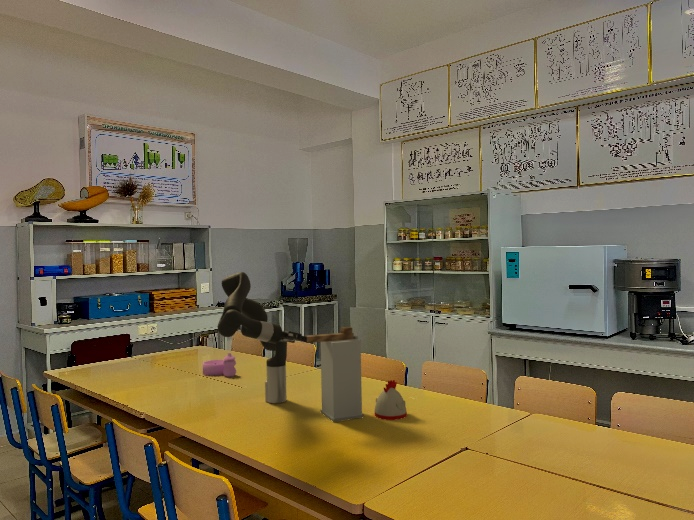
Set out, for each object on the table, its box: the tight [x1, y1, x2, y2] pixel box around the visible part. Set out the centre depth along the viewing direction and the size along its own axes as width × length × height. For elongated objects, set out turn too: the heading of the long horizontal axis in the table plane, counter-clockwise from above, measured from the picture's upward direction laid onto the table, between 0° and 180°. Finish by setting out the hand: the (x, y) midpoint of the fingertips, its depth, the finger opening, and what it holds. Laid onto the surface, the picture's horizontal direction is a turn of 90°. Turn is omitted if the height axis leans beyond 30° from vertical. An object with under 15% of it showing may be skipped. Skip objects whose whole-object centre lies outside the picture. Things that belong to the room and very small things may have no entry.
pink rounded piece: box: [202, 352, 237, 378], centre depth 320 cm, size 25×15×13 cm, turn 49°
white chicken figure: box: [374, 379, 408, 421], centre depth 233 cm, size 14×14×15 cm
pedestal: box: [319, 334, 365, 423], centre depth 234 cm, size 14×15×34 cm
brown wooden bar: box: [304, 326, 355, 344], centre depth 232 cm, size 21×4×5 cm, turn 113°
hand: (300, 340), depth 221 cm, fingers open, 8 cm apart
